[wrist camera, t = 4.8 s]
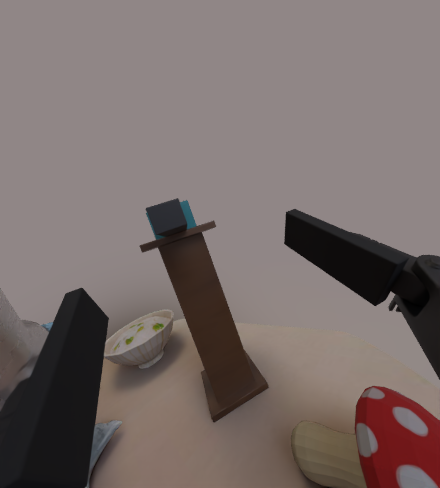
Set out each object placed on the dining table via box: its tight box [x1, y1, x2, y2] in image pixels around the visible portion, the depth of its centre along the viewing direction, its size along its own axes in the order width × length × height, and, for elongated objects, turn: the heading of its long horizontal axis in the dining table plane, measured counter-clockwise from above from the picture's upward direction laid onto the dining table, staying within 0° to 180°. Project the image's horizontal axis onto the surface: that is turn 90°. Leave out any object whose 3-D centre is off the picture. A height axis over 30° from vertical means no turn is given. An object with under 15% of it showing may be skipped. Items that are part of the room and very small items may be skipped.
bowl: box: [104, 309, 173, 369], centre depth 49 cm, size 19×19×10 cm
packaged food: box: [85, 420, 122, 488], centre depth 27 cm, size 9×12×5 cm
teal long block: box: [146, 198, 196, 240], centre depth 25 cm, size 18×6×4 cm, turn 12°
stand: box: [140, 221, 268, 422], centre depth 32 cm, size 11×11×29 cm
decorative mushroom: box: [291, 386, 440, 488], centre depth 15 cm, size 11×11×15 cm
